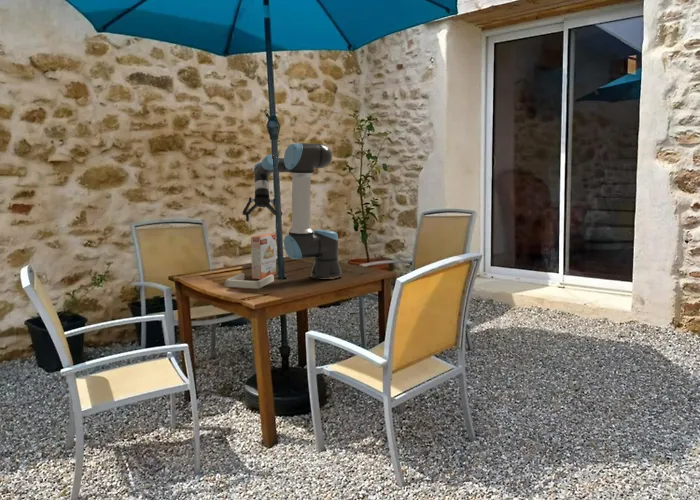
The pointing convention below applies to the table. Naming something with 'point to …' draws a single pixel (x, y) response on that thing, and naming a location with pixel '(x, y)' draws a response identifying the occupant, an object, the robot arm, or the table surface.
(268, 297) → the table surface
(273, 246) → the cracker box
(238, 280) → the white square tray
